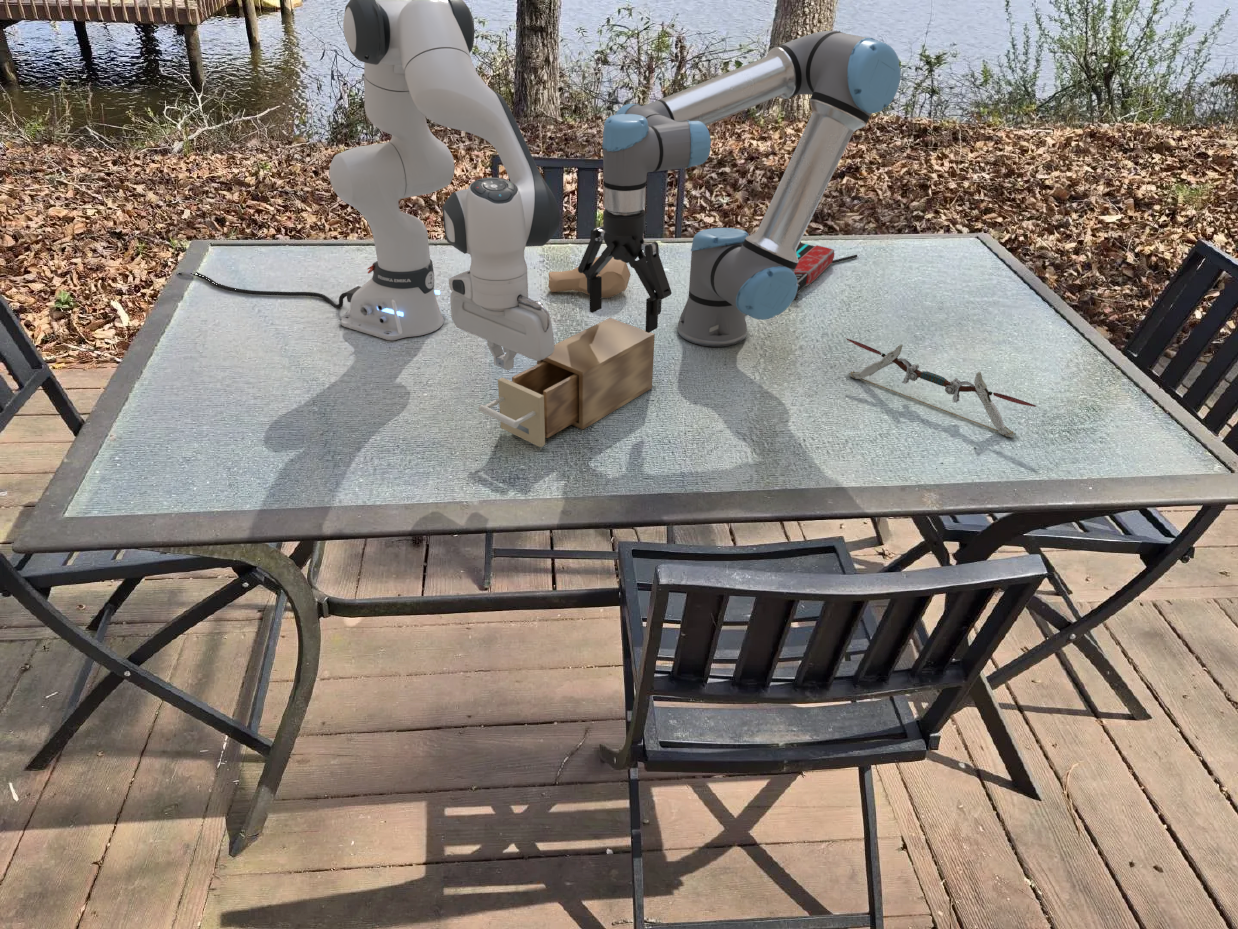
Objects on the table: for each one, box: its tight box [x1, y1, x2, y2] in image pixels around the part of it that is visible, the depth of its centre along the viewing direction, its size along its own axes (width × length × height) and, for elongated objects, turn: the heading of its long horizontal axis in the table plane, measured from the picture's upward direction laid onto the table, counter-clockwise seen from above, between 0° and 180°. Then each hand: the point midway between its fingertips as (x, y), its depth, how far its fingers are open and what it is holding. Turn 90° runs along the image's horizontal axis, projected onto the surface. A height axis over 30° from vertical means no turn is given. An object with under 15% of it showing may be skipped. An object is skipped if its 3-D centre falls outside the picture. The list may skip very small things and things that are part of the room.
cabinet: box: [536, 317, 656, 430], centre depth 166 cm, size 21×11×12 cm, turn 141°
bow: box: [845, 337, 1037, 438], centre depth 168 cm, size 39×2×10 cm, turn 47°
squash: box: [547, 255, 631, 299], centre depth 210 cm, size 11×20×9 cm, turn 90°
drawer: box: [478, 361, 579, 448], centre depth 157 cm, size 25×10×10 cm, turn 141°
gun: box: [794, 240, 835, 300], centre depth 224 cm, size 4×31×19 cm
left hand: (504, 366), depth 145 cm, fingers closed
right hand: (623, 319), depth 166 cm, fingers open, 13 cm apart
